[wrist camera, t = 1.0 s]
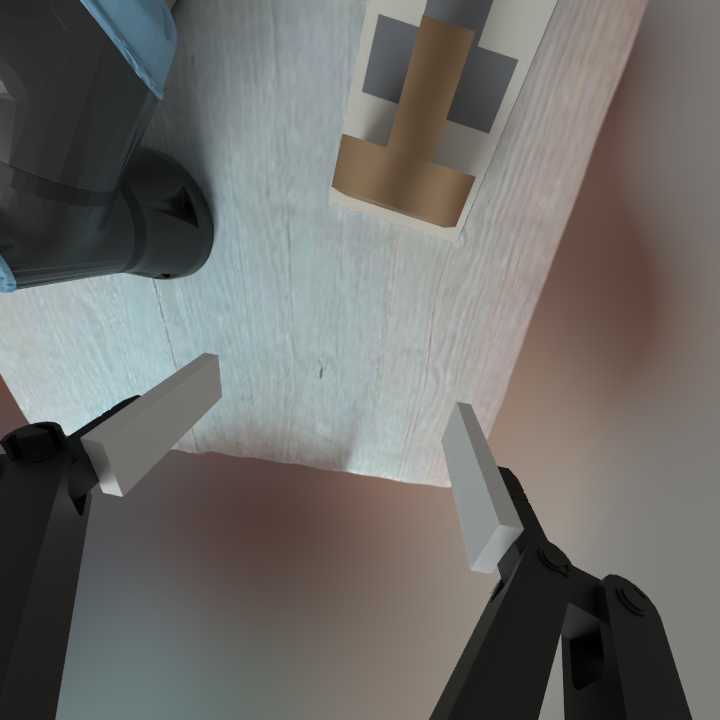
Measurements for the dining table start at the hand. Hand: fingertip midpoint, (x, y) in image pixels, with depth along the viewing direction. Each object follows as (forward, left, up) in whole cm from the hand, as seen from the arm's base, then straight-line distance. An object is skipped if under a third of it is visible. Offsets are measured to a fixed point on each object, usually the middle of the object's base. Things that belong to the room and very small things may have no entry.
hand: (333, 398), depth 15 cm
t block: (-6, +15, -24) cm, 29 cm away
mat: (-8, +20, -24) cm, 32 cm away
